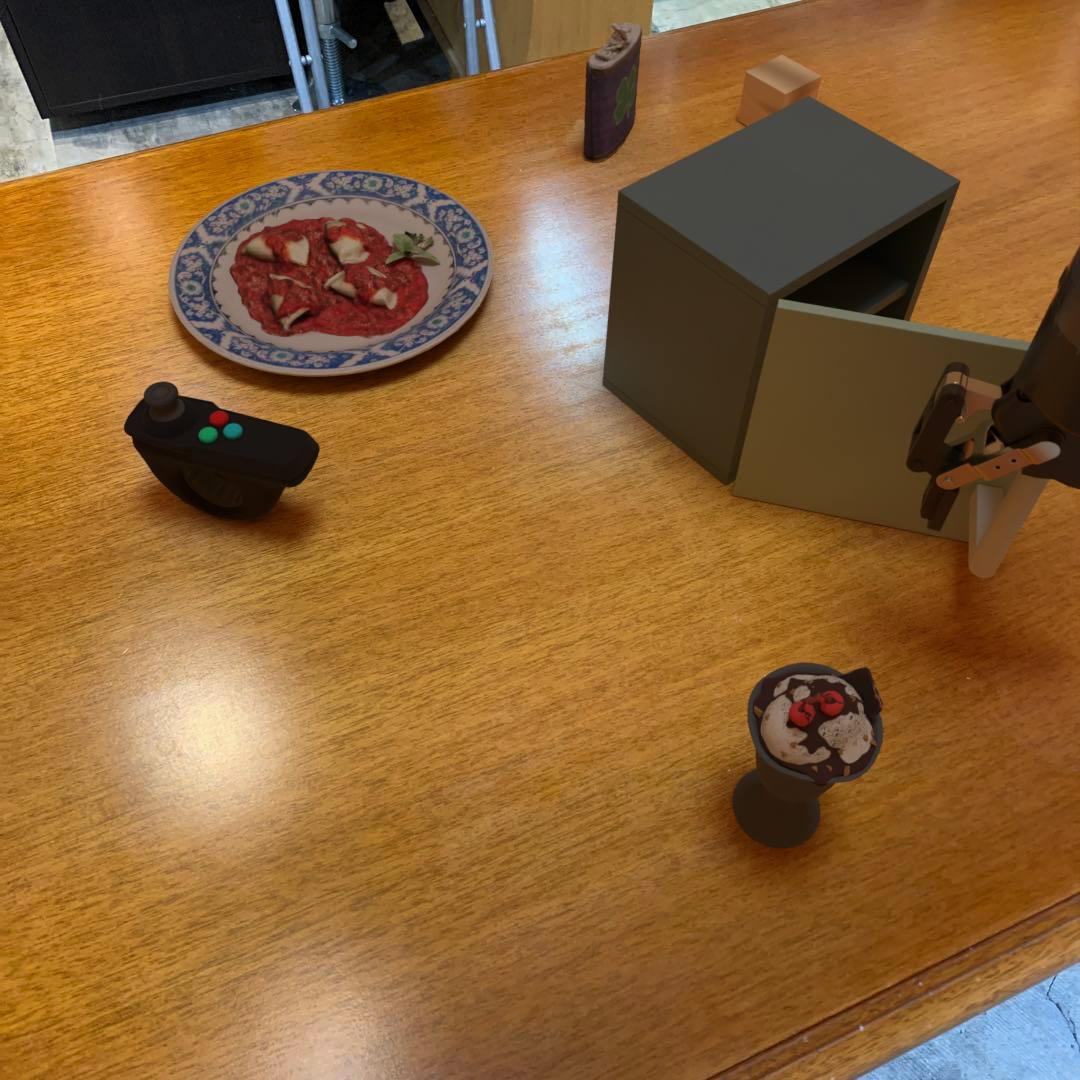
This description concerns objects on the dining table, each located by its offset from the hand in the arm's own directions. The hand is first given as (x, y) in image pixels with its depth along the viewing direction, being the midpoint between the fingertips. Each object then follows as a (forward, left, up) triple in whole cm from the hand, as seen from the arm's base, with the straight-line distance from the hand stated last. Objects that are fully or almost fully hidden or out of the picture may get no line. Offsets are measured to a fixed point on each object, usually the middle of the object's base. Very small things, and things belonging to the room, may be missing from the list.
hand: (1011, 540), depth 61 cm
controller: (+30, -37, -10) cm, 49 cm away
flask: (-20, -55, -10) cm, 60 cm away
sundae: (+18, +1, -10) cm, 20 cm away
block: (-34, -47, -10) cm, 59 cm away
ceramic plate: (+12, -53, -10) cm, 55 cm away
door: (0, -8, -9) cm, 12 cm away
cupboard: (-6, -24, -10) cm, 27 cm away
